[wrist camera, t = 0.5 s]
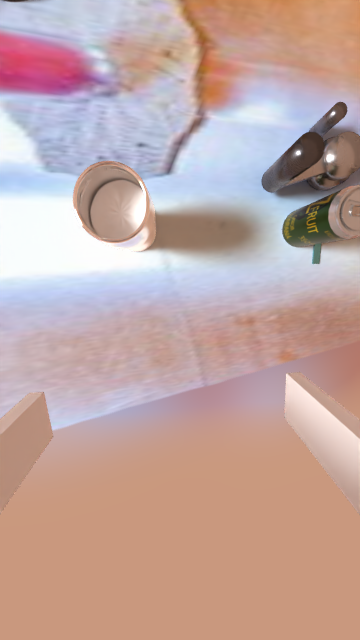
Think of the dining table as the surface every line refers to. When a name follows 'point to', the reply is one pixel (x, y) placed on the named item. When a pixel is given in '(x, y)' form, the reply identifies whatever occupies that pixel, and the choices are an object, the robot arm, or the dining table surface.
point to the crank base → (321, 128)
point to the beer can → (325, 219)
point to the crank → (314, 160)
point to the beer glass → (115, 206)
